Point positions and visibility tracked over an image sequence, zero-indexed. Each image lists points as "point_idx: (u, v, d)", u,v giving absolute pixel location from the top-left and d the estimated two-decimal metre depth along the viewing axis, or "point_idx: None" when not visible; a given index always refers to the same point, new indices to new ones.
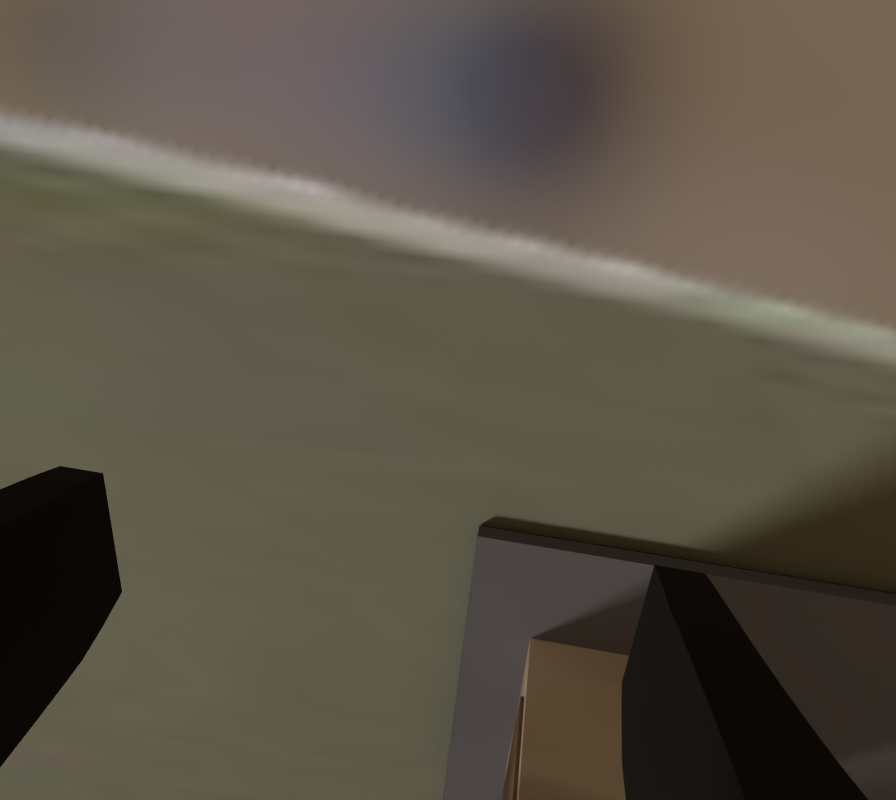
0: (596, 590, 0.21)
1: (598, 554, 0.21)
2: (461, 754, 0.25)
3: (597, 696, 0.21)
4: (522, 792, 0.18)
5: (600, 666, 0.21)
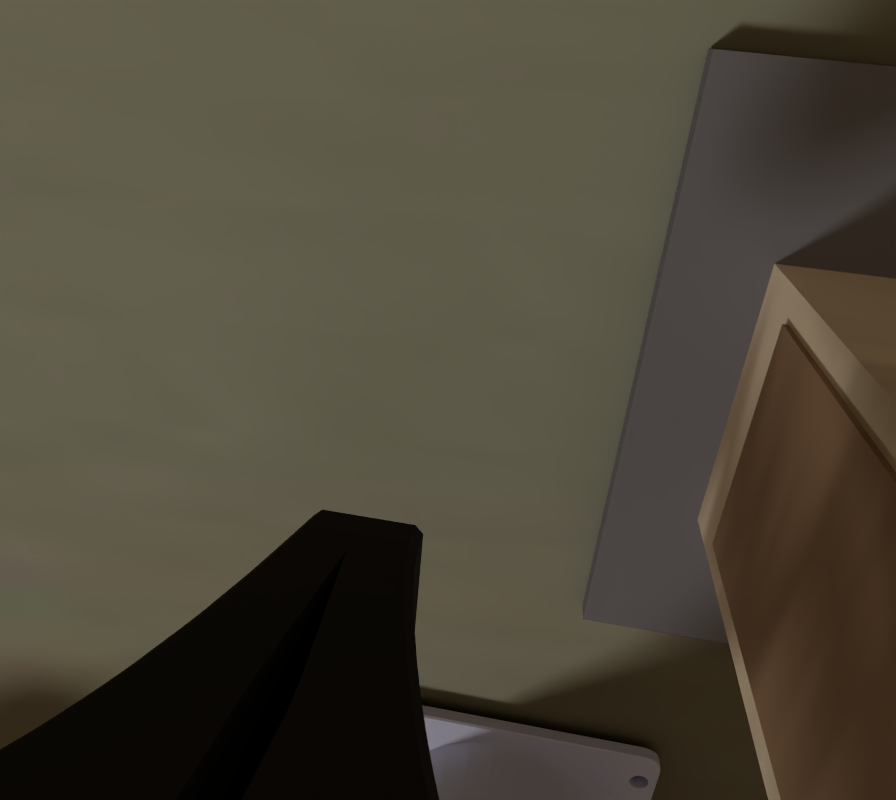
0: None
1: None
2: (628, 503, 0.17)
3: None
4: (877, 375, 0.09)
5: None
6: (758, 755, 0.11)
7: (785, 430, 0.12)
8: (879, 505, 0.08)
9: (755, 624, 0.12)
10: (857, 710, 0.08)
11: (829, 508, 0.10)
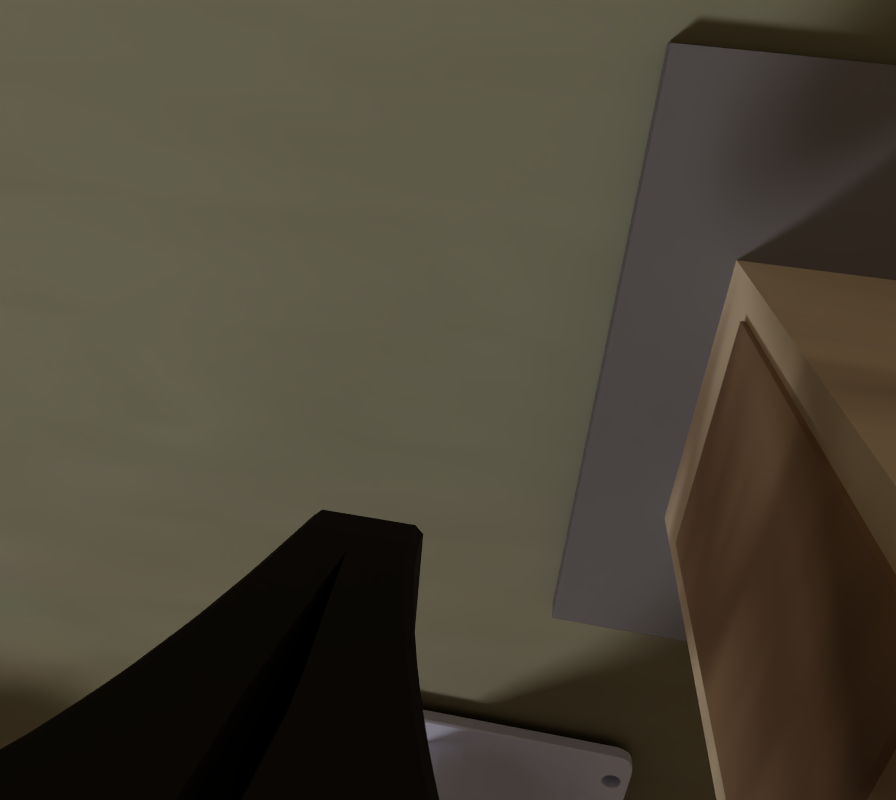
0: (868, 143, 0.12)
1: (881, 66, 0.12)
2: (595, 501, 0.17)
3: (881, 305, 0.12)
4: (822, 373, 0.09)
5: (865, 285, 0.13)
6: (709, 756, 0.11)
7: (740, 428, 0.12)
8: (817, 504, 0.08)
9: (709, 623, 0.12)
10: (793, 711, 0.08)
11: (775, 506, 0.10)
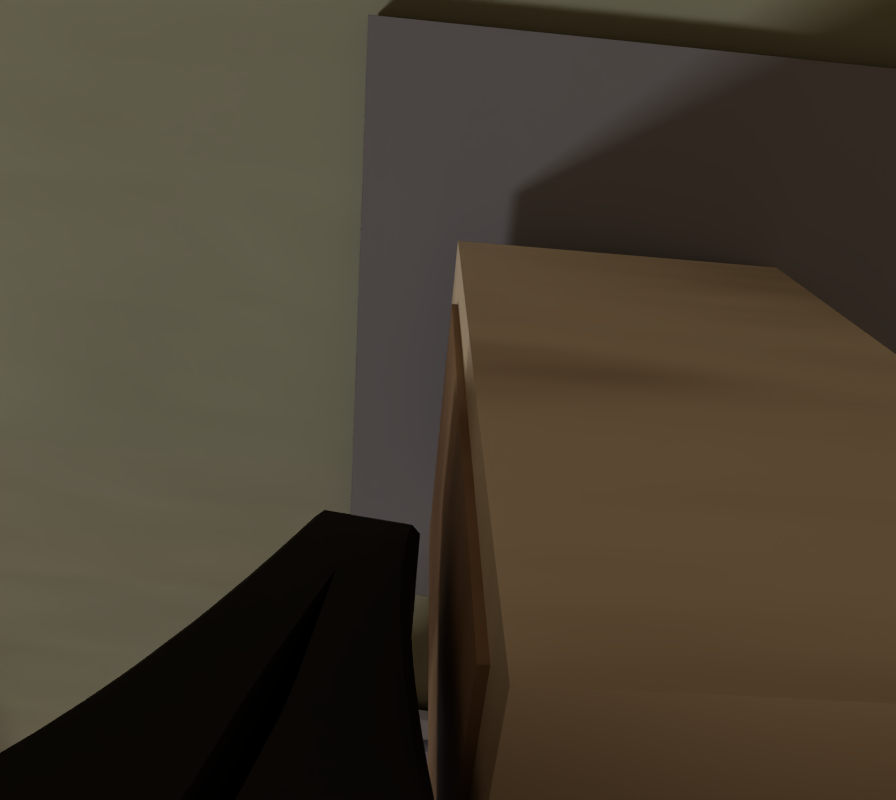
0: (562, 112, 0.13)
1: (564, 37, 0.13)
2: (370, 466, 0.17)
3: (582, 279, 0.12)
4: (478, 356, 0.09)
5: (578, 260, 0.13)
6: None
7: (446, 415, 0.11)
8: (459, 496, 0.08)
9: (432, 620, 0.11)
10: (445, 717, 0.08)
11: (450, 497, 0.09)
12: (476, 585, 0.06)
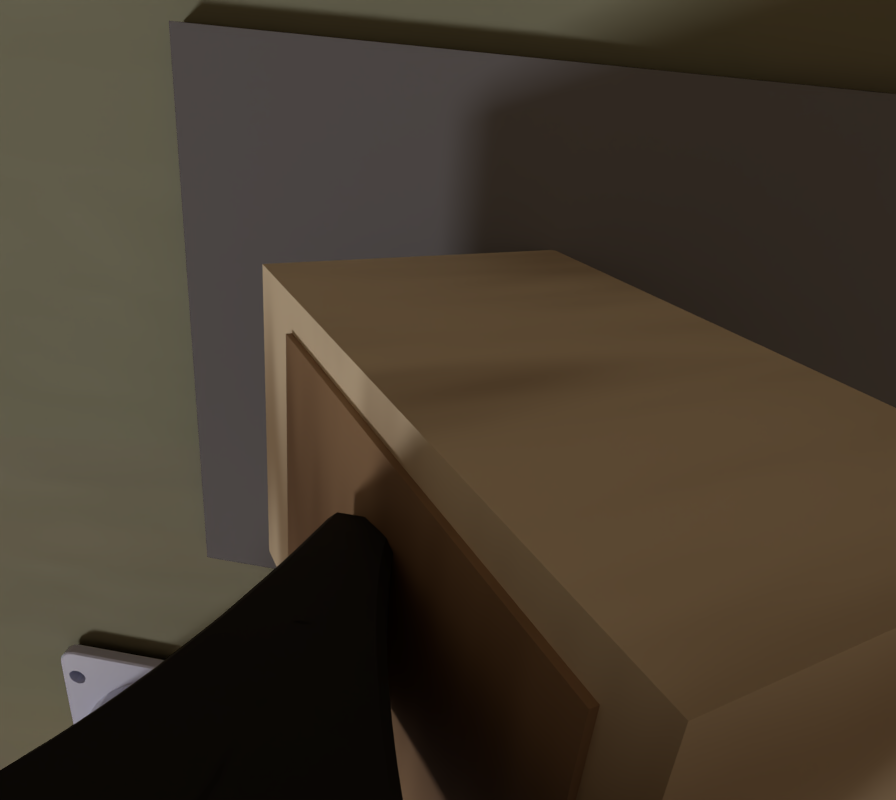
0: (348, 109, 0.14)
1: (344, 41, 0.14)
2: (215, 443, 0.18)
3: (413, 287, 0.12)
4: (385, 388, 0.08)
5: (392, 267, 0.13)
6: None
7: (319, 453, 0.10)
8: (422, 539, 0.07)
9: None
10: (461, 766, 0.07)
11: None
12: (529, 629, 0.06)
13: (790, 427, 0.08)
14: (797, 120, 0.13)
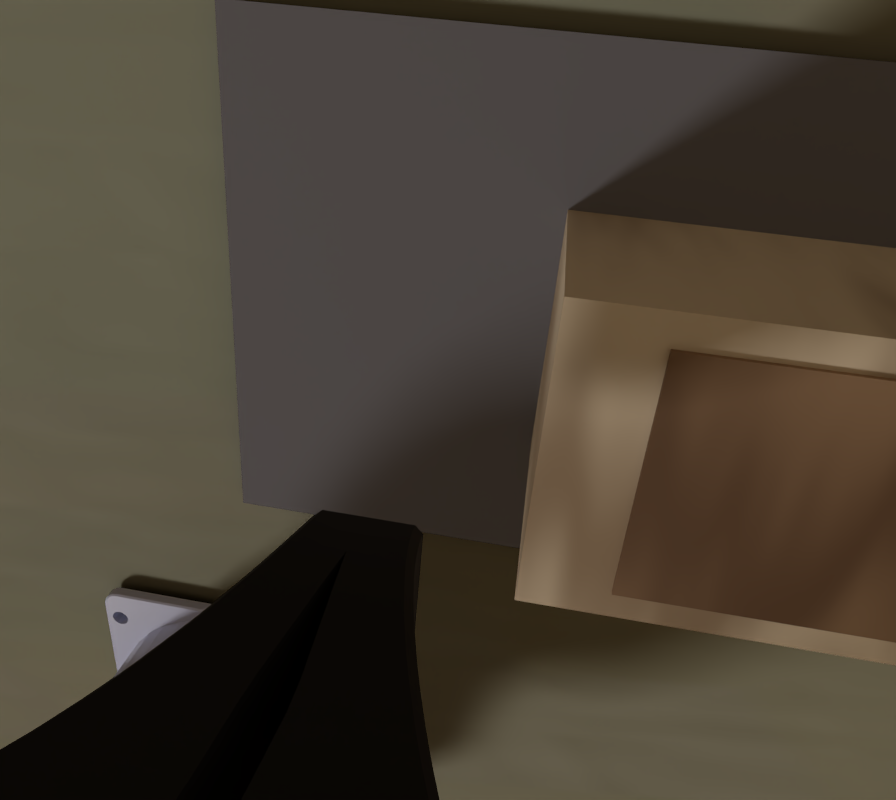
0: (379, 78, 0.16)
1: None
2: (251, 394, 0.20)
3: (667, 272, 0.12)
4: None
5: (602, 261, 0.13)
6: (857, 656, 0.13)
7: (761, 437, 0.11)
8: None
9: (799, 591, 0.12)
10: None
11: None
12: None
13: None
14: (792, 86, 0.14)
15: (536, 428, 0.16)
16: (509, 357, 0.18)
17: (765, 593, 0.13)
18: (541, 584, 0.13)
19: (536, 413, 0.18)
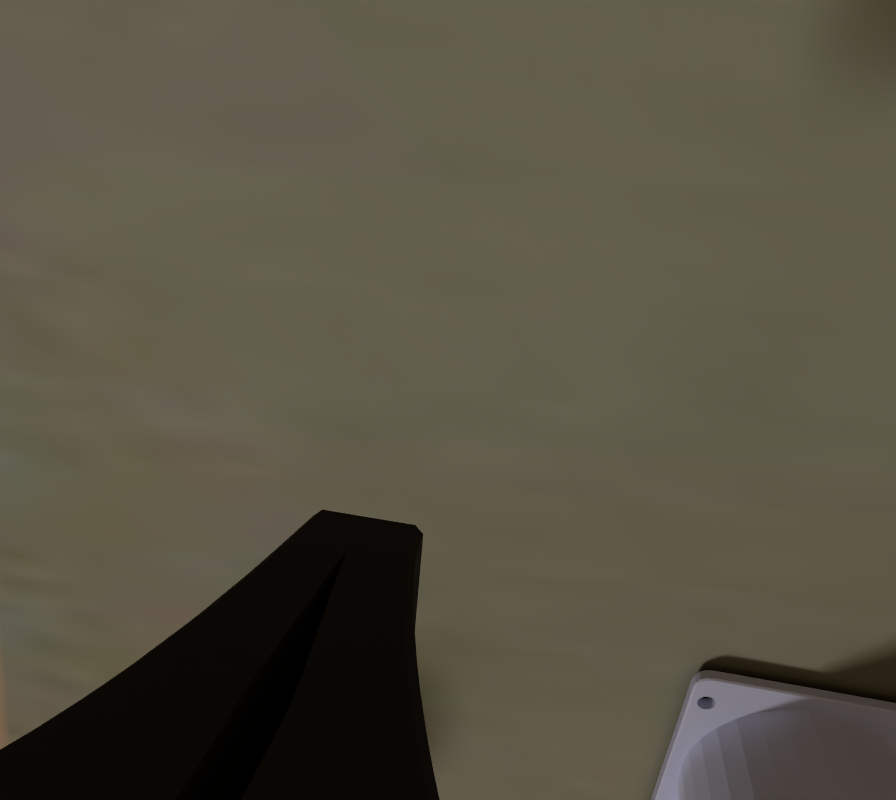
0: None
1: None
2: None
3: None
4: None
5: None
6: None
7: None
8: None
9: None
10: None
11: None
12: None
13: None
14: None
15: None
16: None
17: None
18: None
19: None
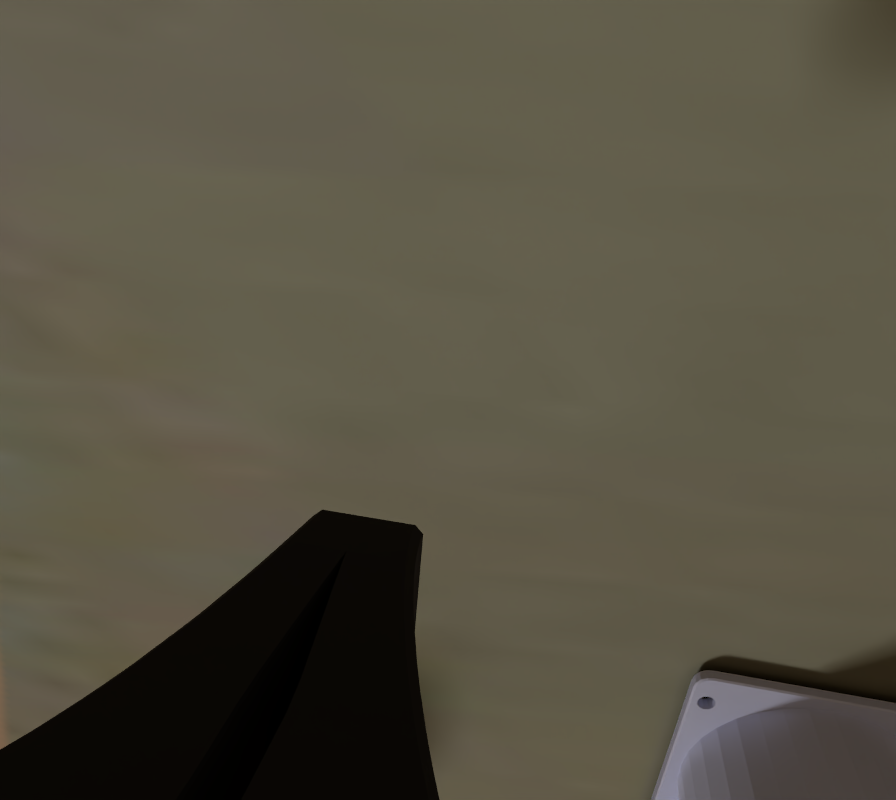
0: None
1: None
2: None
3: None
4: None
5: None
6: None
7: None
8: None
9: None
10: None
11: None
12: None
13: None
14: None
15: None
16: None
17: None
18: None
19: None
